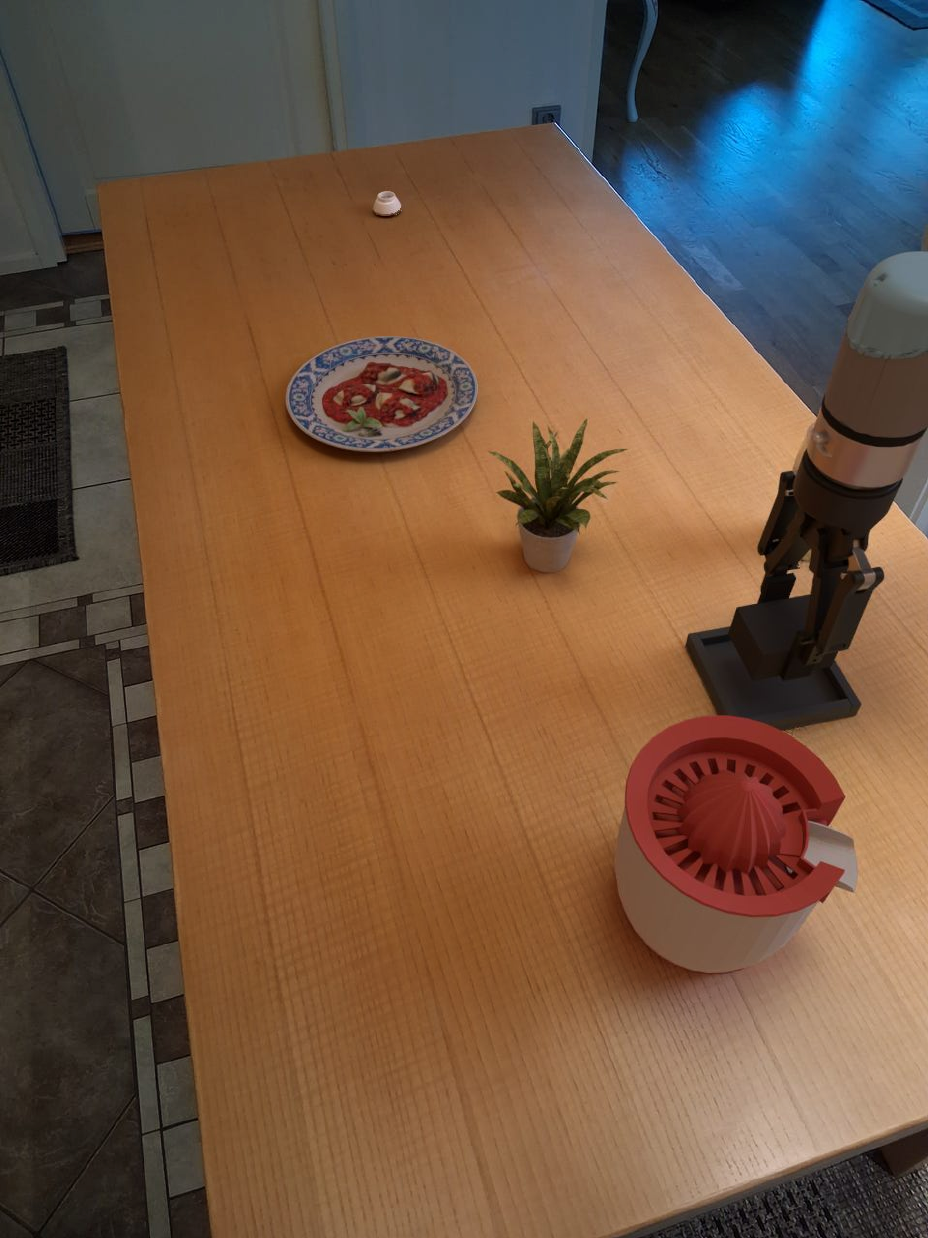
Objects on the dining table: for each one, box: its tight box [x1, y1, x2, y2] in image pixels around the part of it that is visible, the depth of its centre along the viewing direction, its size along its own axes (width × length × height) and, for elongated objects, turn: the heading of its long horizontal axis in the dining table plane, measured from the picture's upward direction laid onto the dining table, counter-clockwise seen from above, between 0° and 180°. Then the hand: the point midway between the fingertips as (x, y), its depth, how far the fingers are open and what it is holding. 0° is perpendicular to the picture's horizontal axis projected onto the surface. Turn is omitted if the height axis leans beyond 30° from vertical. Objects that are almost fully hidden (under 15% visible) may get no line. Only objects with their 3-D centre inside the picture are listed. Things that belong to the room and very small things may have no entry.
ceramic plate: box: [285, 335, 479, 453], centre depth 121 cm, size 26×26×3 cm
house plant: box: [487, 417, 629, 574], centre depth 96 cm, size 14×14×16 cm
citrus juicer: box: [614, 715, 859, 975], centre depth 68 cm, size 16×17×20 cm
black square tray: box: [685, 625, 862, 731], centre depth 90 cm, size 13×12×2 cm
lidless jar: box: [372, 190, 402, 214], centre depth 157 cm, size 5×3×5 cm
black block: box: [728, 594, 840, 681], centre depth 85 cm, size 8×6×4 cm
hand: (779, 648), depth 87 cm, fingers closed on black block, 6 cm apart
